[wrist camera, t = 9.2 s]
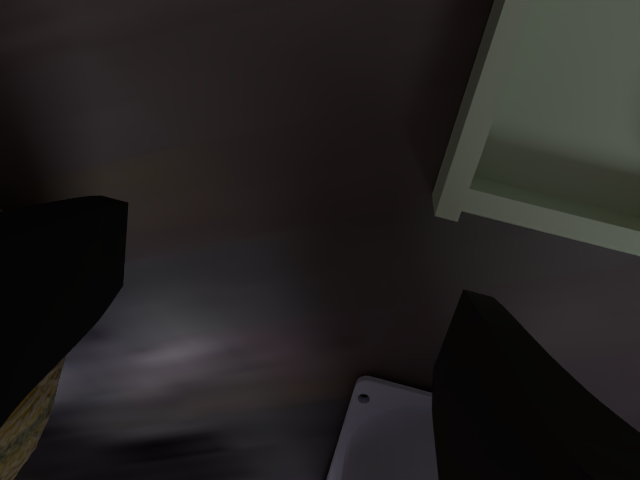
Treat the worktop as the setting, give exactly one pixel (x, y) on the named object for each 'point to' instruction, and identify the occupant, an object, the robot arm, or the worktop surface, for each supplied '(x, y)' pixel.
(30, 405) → the ribbed pale melon
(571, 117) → the parts tray
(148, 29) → the worktop surface
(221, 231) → the worktop surface
